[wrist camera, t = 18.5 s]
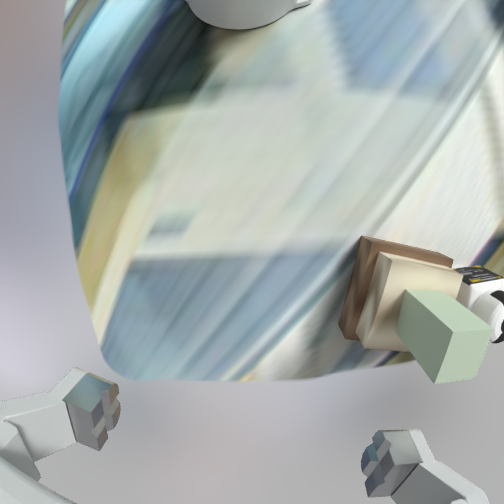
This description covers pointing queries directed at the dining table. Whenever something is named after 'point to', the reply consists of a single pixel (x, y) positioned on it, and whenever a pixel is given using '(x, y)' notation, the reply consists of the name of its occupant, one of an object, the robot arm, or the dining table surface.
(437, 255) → the tower base
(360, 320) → the tower top
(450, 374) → the sage block
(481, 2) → the dining table surface
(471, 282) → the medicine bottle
